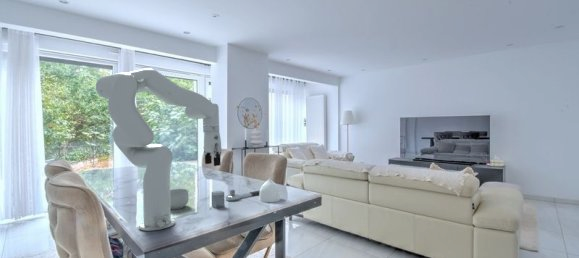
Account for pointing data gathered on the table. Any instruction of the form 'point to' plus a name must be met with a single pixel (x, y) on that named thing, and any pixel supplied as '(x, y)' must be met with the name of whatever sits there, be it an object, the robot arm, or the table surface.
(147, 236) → the table surface
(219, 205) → the socket
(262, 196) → the teardrop
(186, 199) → the teacup
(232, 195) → the ratchet
